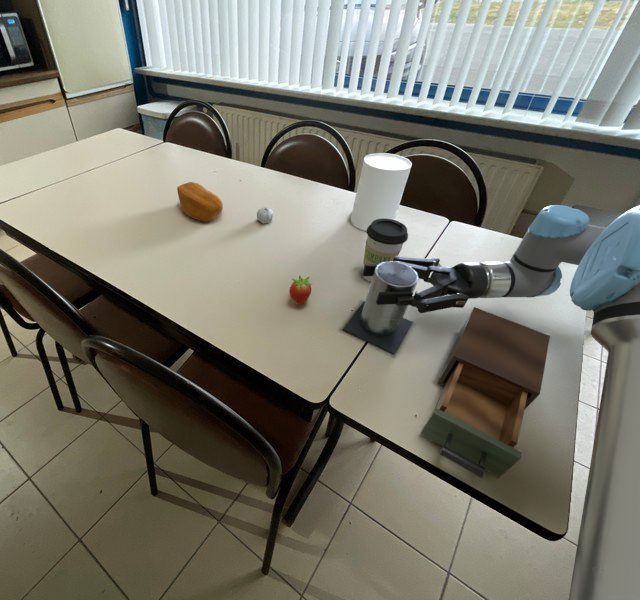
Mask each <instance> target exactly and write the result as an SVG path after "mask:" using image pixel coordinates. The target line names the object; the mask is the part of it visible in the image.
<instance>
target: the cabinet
mask: <svg viewBox="0 0 640 600" xmlns="http://www.w3.org/2000/svg"><path fill="white" fill-rule="evenodd" d="M550 339H551V335H549V334H547V333H544V332H542V331H539V330H537V329H533V328H531V327H528V326H526V325H523V324H521V323H518V322H515V321H512V320H510V319H507V318H504V317H502V316H500V315H496V314H494V313H491V312H489V311H487V310H483V309H481V308H478V307H475V306H474V307H473V308H472V309H471V311H470V313H469V314H468V317H467V318H466V320H465V322H464V323H463V325H462V327H461V329H460V330H459V332H458V334H457V336H456V339H455V341H454V344H453V346H452V347H451V350H450V353H449V354H448V357H447V360H446V362H445V364H444V366H443V369H442V372H441V373H440V375H439V377H438V380H437V382H436V383H437V384H438V385H440V386H442V387H443V388H444V387H445V385H446V382H447V380H448V377H449V376H450V374H451V372H452V371H453V369H454V368H455V366H456V364H457V363H458V361H460V362H462V363H464V364H466V365H469V366H471V367H473V368H475V369H478V370H480V371H482V372H484V373H487V374H489V375H491V376H493V377H495V378H498V379H500V380H502V381H504V382H507V383H509V384H511V385H513V386H516V387H518V388H520V389H522V390H524V391H527V392H528V394H527V399H526V404H525V409H524V411H526V409H527V408H528V407H529V406H531V404H532V403H533V402H534V401H535V400H537V398H538V397H539V396H540V395H541V390H542V384H543V379H544V373H545V367H546V361H547V355H548V350H549V344H550Z"/></svg>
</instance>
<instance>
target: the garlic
mask: <svg viewBox="0 0 640 600" xmlns="http://www.w3.org/2000/svg"><path fill="white" fill-rule="evenodd" d="M273 218H274V211H273V210H272V209H271V208H269V207H264V206H263V207H260V208H259V209H258V210H257V212H256V219H257V220H258V221H259V222H260V223H262V224H267V223H270V222H271V221H272V220H273Z"/></svg>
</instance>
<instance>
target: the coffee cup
mask: <svg viewBox="0 0 640 600" xmlns="http://www.w3.org/2000/svg"><path fill="white" fill-rule="evenodd" d="M365 232H366V234H367V236H366V240H365V246H364V253H363V254H364V255H363V263H362V264H363V266H362V273H361V275H362V274H363V270H364V267H365V264H379V263H383V262H389V261H393V258H394V256H399V255H400V253H401V251H402V249H403V245H404V243H406V242H407V241H408V239H409V233H408V228H407V226H406V225H405V224H404V223H402V222H401V221H399V220H396V219H395V220H392V219H377V220H374V221H373V222H372V223H371V225H369V227H368V228H367V231H365ZM362 277H363V279H365V280H366V281H367V282H370V283H371V281H372V278H373V276H363V275H362Z"/></svg>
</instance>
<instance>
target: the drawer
mask: <svg viewBox="0 0 640 600" xmlns="http://www.w3.org/2000/svg"><path fill="white" fill-rule="evenodd" d="M527 394H528V392H527V391H524V390H522V389H520V388H518V387H516V386H513V385H511V384H509V383H507V382H504V381H502V380H500V379H498V378H495V377H493V376H491V375H489V374H487V373H484V372H482V371H480V370H478V369H475V368H473V367H471V366H469V365H466V364H464V363H462V362H460V361H458V363H457V364H456V366H455V368H454V369H453V371H452V372H451V374H450V376H449V377H448V380H447V382H446V385H445V387H444V386H443V390H442V392H441V395H440V397H439V400H438V402H437V405H436V406H435V408H434V410H433V411H432V412H431V414H430V416H429V417H428V419H427V420H426V422H425V424H424V425H423V427H422V428H421V431H420V435H422V436H423V437H424V438H427V439H429V440H431V441H432V442H434V443H436V444H438V445H439V446H441V448H440V451H439V455H441V456H442V457H443V458H446V459H448V460H449V461H451V462H453V463H455V464H456V465H458V466H460V467H462V468H464V469H466V470H467V471H468V472H470V473H472V474H473V475H475V476H477V477H479V478H482V477H484V475H485V473H486V472H488V473H489V474H492V476H495V477H497V478H498V479H499V478H501V477H502V476H503V475H504V474H505V473H506V472H507V471H509V470H510V469H511V468H512V467H514V465H516V463H518V462H519V461H520V460H521V459H522V456H523V455H522V454H523V452H522V451H521V450H518V449H516V448H514V447H516V445H518V442H519V438H520V433H521V429H522V423H523V419H524V415H525V410H526V409H525V404H526V399H527ZM524 409H525V410H524Z"/></svg>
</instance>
